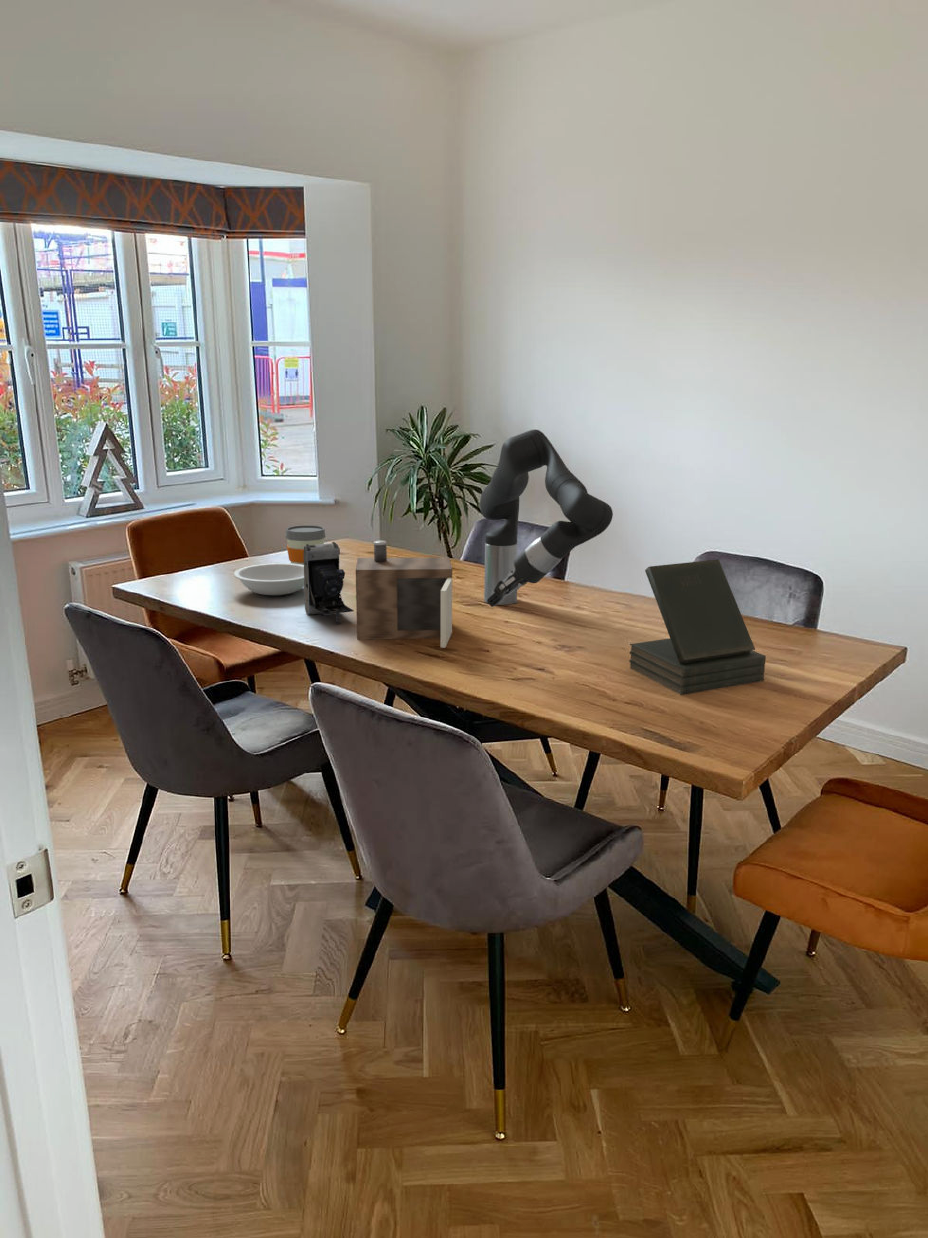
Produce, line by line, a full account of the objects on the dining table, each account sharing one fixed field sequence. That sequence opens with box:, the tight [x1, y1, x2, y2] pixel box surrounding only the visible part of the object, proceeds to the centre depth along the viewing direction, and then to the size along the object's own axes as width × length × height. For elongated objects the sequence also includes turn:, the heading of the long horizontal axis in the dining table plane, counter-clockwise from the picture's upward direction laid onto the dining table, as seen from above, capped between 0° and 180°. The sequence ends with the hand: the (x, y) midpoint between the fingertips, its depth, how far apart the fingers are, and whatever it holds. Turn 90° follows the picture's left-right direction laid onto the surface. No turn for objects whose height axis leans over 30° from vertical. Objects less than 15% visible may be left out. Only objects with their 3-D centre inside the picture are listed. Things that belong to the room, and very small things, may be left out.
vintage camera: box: [303, 541, 355, 625], centre depth 259 cm, size 10×16×20 cm, turn 28°
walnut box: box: [355, 556, 453, 640], centre depth 248 cm, size 24×14×18 cm, turn 94°
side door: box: [440, 576, 453, 649], centre depth 235 cm, size 14×1×14 cm, turn 174°
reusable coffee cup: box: [285, 524, 326, 565], centre depth 309 cm, size 13×13×15 cm
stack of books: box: [628, 559, 767, 696], centre depth 216 cm, size 23×20×25 cm
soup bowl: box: [233, 562, 304, 596], centre depth 287 cm, size 24×24×7 cm
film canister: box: [373, 540, 388, 562], centre depth 247 cm, size 3×3×5 cm
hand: (490, 603), depth 226 cm, fingers closed
